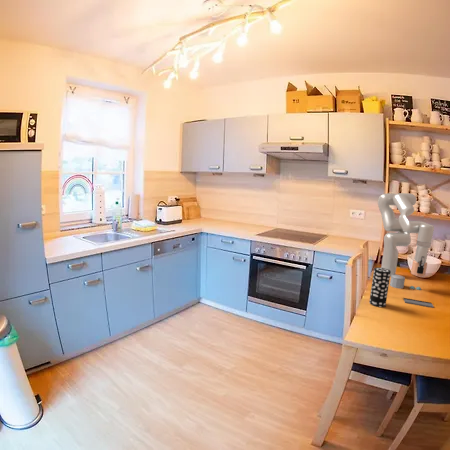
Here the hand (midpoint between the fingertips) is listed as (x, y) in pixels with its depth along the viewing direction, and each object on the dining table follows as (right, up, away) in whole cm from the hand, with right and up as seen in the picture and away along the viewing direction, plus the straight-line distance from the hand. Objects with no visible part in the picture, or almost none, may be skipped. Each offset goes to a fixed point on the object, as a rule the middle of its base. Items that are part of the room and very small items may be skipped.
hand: (418, 271), depth 202 cm
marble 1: (-2, -11, +3) cm, 12 cm away
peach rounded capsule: (0, -2, 0) cm, 2 cm away
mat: (-8, -15, -12) cm, 21 cm away
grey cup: (-11, -12, +6) cm, 17 cm away
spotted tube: (-35, -16, -21) cm, 44 cm away
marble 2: (+1, -12, +2) cm, 12 cm away
